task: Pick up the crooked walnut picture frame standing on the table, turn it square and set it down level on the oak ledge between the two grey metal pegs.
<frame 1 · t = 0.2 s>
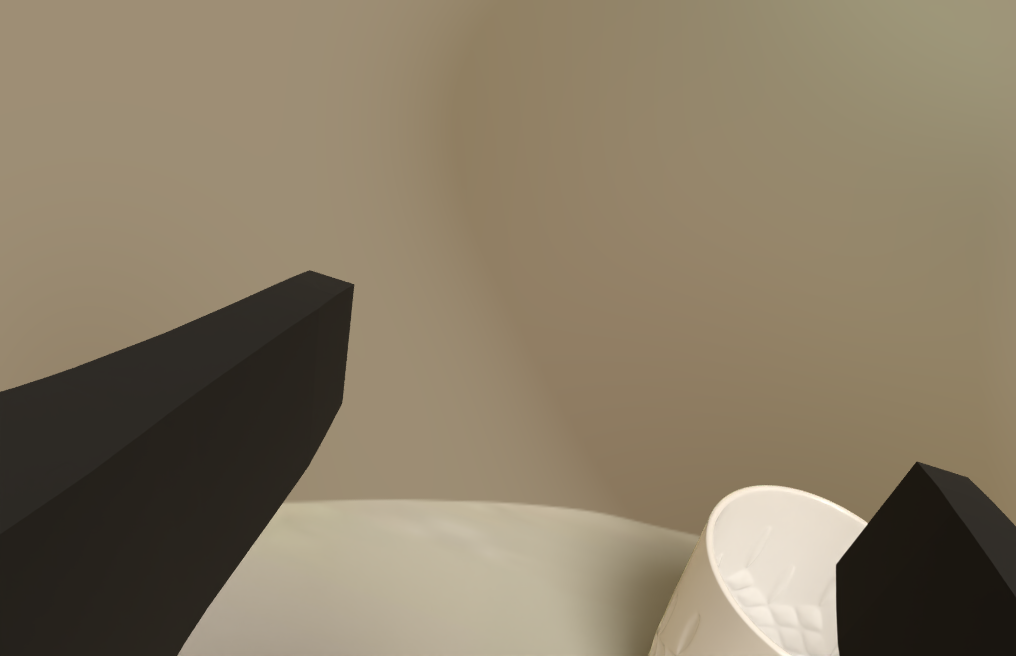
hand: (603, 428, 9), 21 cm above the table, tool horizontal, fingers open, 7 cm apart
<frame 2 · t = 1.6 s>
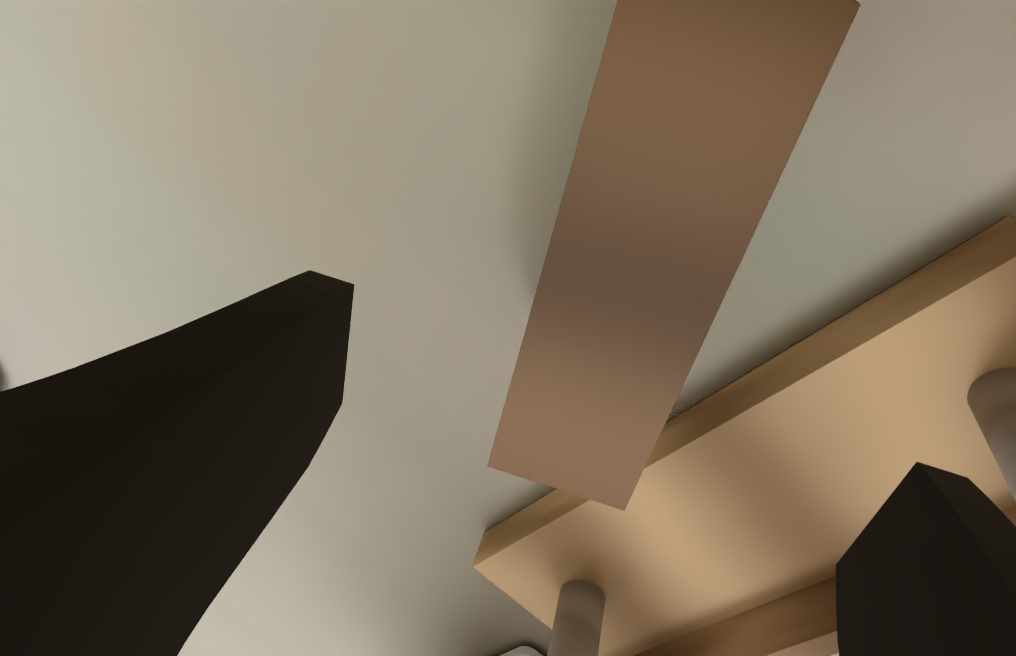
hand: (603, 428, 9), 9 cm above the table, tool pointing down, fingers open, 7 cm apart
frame: (650, 168, 17), on the table
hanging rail: (763, 485, 21), on the table
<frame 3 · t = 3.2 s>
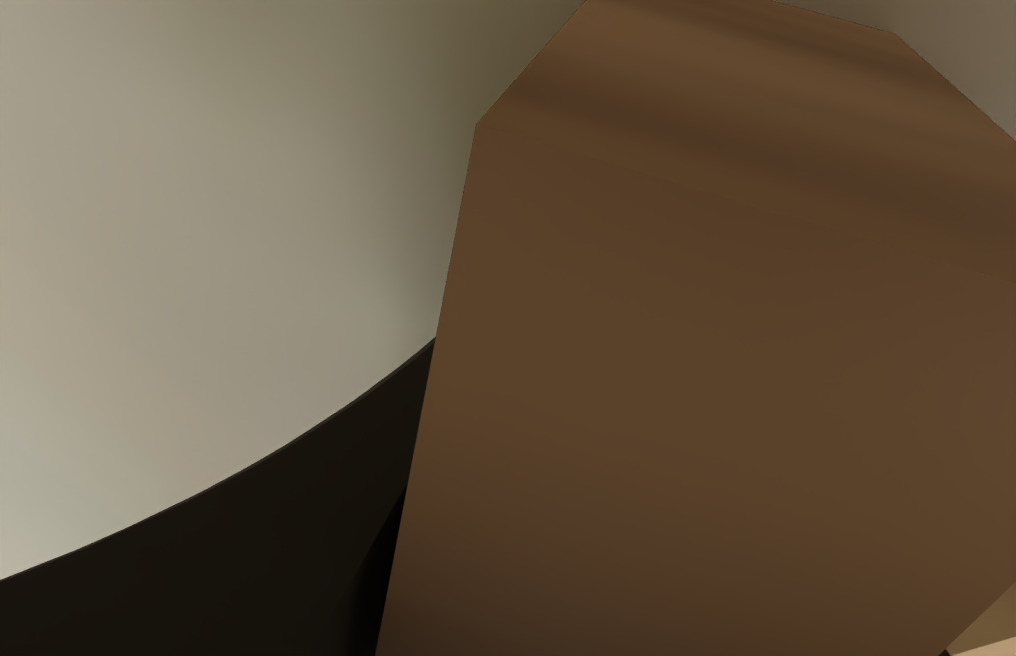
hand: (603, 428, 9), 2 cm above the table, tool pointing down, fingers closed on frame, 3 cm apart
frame: (618, 356, 10), on the table, touching gripper
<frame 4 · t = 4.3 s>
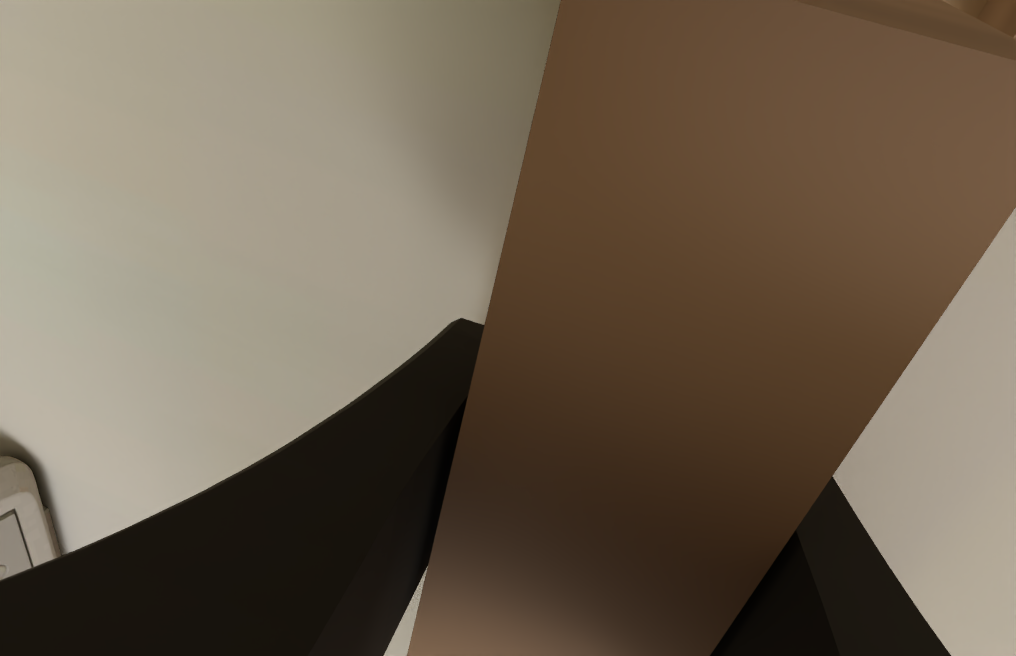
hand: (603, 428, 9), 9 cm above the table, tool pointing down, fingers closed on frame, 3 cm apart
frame: (637, 271, 12), point 5 cm above the table, touching gripper
digital clock: (27, 551, 33), on the table
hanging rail: (697, 205, 16), on the table
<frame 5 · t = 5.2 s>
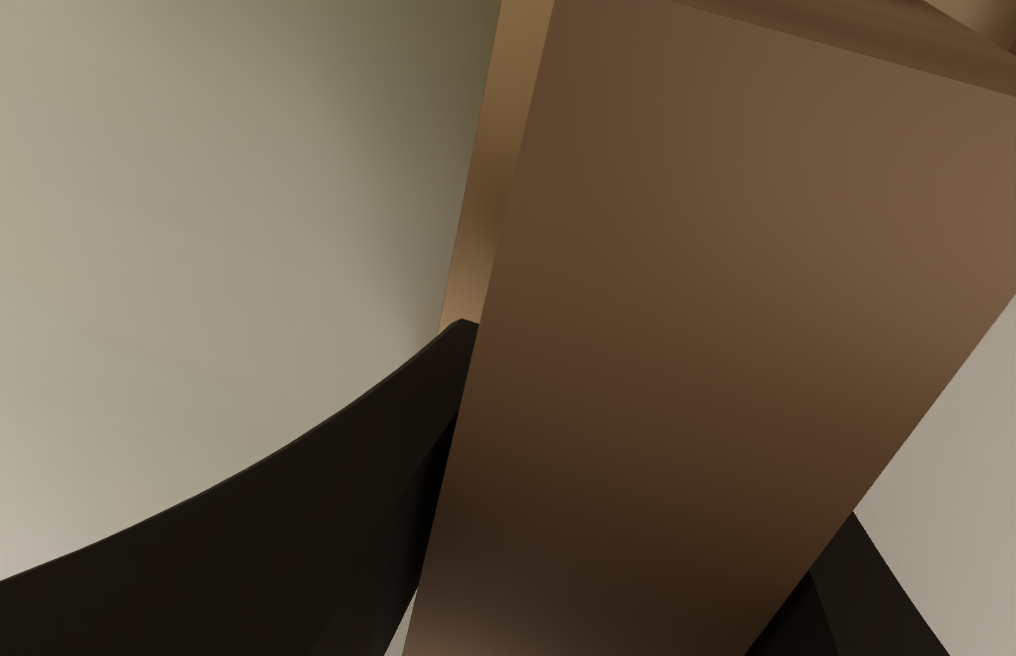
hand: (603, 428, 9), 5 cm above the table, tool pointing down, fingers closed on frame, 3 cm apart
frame: (634, 288, 11), point 1 cm above the table, touching gripper, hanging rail
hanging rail: (660, 275, 13), on the table
when the fingers open (4 cm above the table, at t = 5.5 s): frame stays where it is, resting on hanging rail.
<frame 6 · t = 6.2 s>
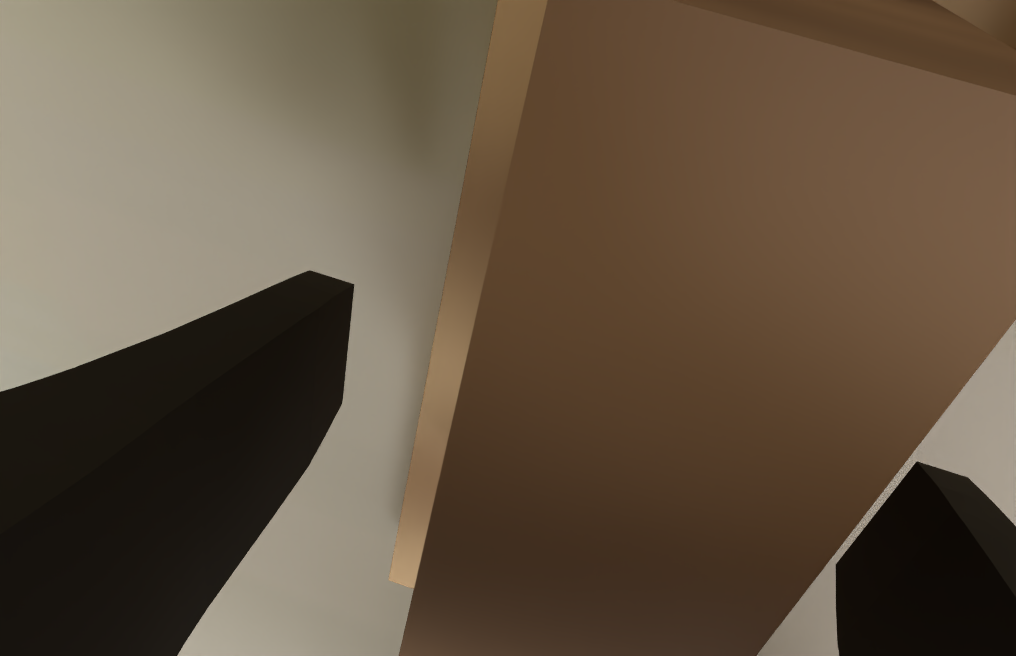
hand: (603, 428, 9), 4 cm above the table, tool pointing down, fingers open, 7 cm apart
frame: (633, 290, 11), point 1 cm above the table, touching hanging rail
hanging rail: (659, 277, 13), on the table
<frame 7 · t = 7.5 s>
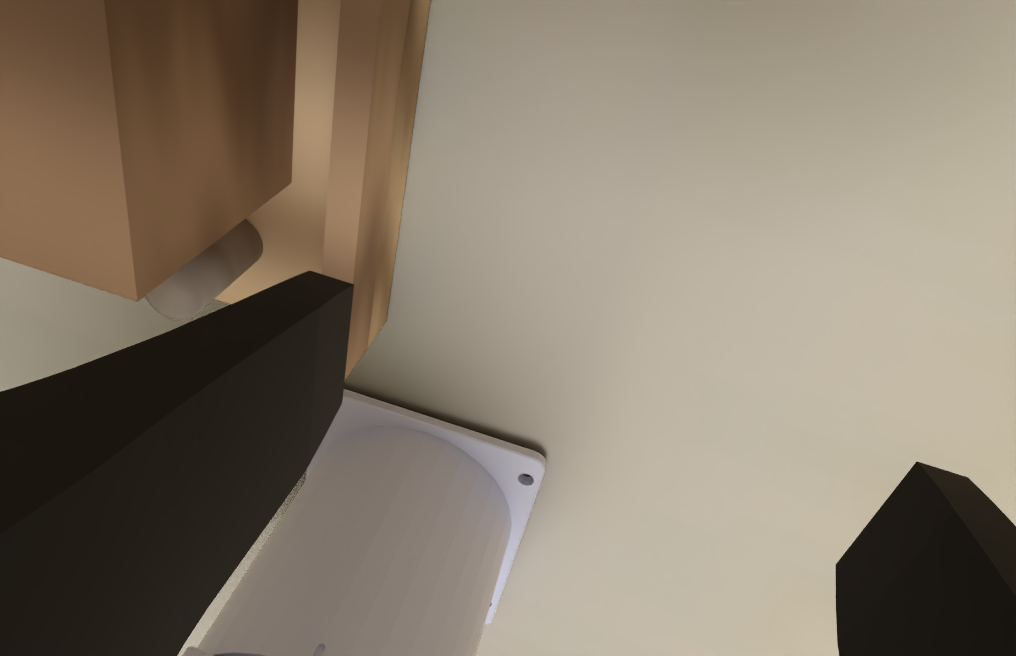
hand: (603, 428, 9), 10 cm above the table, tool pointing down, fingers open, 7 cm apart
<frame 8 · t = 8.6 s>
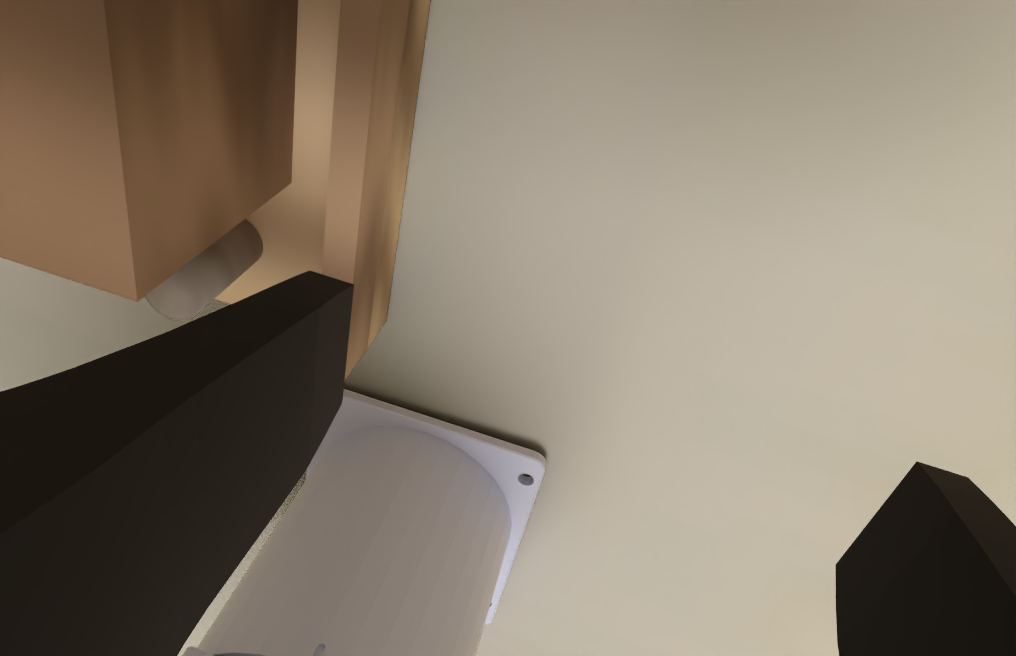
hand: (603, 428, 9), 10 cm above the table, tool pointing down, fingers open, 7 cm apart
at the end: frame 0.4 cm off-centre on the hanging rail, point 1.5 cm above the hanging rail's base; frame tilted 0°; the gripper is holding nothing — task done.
